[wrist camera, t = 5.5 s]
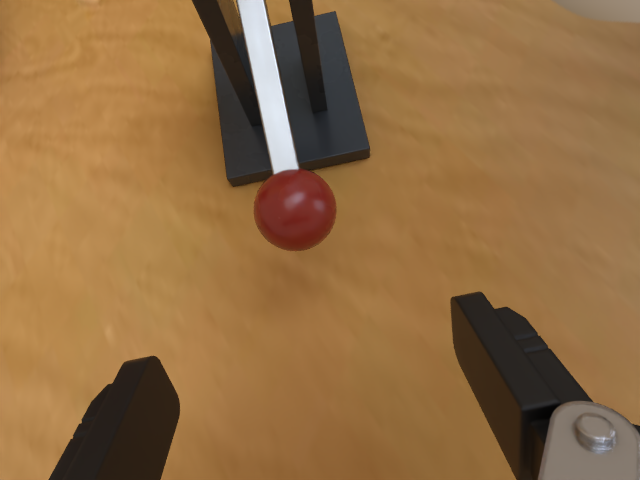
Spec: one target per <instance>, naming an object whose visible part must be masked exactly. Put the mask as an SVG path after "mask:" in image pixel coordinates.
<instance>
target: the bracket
mask: <svg viewBox="0 0 640 480" xmlns="http://www.w3.org/2000/svg"><path fill="white" fill-rule="evenodd" d="M192 2H193V4H194V6H195V8H196V10H197V12H198V14H199V17H200V19H201V21H202V23H203V25H204V27H205V29H206V31H207V33H208V36H209V38H210V43H211V51H212V60H213V68H214V76H215V84H216V92H217V101H218V109H219V117H220V125H221V133H222V141H223V150H224V158H225V166H226V174H227V179H228V181H229V182H230V183H231V185H232V186H233V187H234V186H239V185H244V184H248V183H253V182H258V181H262V180H267V179H268V178H269V177H270V176H271V175H273V173H272V168H271V163H270V158H269V154H268V149H267V144H266V139H265V135H264V130H263V125H262V120H261V116H260V111H259V106H258V102H257V97H256V92H255V87H254V83H253V78H252V73H251V68H250V64H249V59H248V54H247V49H246V45H245V40H244V35H243V31H242V26H241V21H240V18H239V16H238V13H237V10H236V7H235V5H234V2H233V0H192ZM289 2H290V7H291V12H292V17H293V21H291V22H286V23H282V24H278V25H274V26H271V28H272V33H273V38H274V43H275V47H276V52H277V57H278V62H279V67H280V71H281V76H282V81H283V86H284V91H285V95H286V100H287V105H288V110H289V114H290V119H291V124H292V129H293V134H294V138H295V143H296V148H297V153H298V158H299V162H300V167H301V169H305V170H308V171H309V170H313V169H318V168H323V167H327V166H332V165H337V164H341V163H346V162H351V161H355V160H360V159H365V158H369V157H370V146H369V142H368V138H367V134H366V130H365V126H364V122H363V118H362V114H361V110H360V106H359V102H358V98H357V95H356V91H355V87H354V83H353V79H352V75H351V71H350V67H349V63H348V59H347V55H346V51H345V47H344V43H343V39H342V35H341V31H340V27H339V23H338V19H337V15H336V12H335V11H334V12H330V13H325V14H321V15H317V16H314V11H313V4H312V0H289Z"/></svg>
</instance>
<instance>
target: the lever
mask: <svg viewBox="0 0 640 480" xmlns="http://www.w3.org/2000/svg"><path fill="white" fill-rule="evenodd" d="M236 2H237V7H238V12H239V16H240V21H241V26H242V31H243V35H244V40H245V45H246V49H247V54H248V59H249V64H250V68H251V73H252V78H253V83H254V87H255V92H256V97H257V102H258V106H259V111H260V116H261V120H262V125H263V130H264V135H265V139H266V144H267V149H268V154H269V158H270V163H271V168H272V173H273V175H271V176H270V177H269V178H268V179H267V180H266V181H265V182H264V183H263V184H262V185H261V187H260V188H259V190H258V192H257V195H256V197H255V201H254V218H255V222H256V225H257V227H258V229H259V231H260V232H261V234H262V235H263V236H264V238H265V239H266V240H267V241H269V242H270V243H271V244H273V245H274V246H276V247H278V248H281V249H284V250H288V251H302V250H307V249H310V248H312V247H314V246H316V245H318V244H319V243H320V242H322V241H323V240H324V239H325V238H326V237H327V236H328V234H329V233H330V231H331V229H332V228H333V225H334V223H335V219H336V201H335V197H334V195H333V192H332V190H331V189H330V187H329V185H328V184H327V183H326V182H325V181H324V180H323V179H322V178H321V177H320V176H318V175H317V174H315V173H313V172H311V171H308V170H305V169H301V167H300V162H299V158H298V153H297V148H296V143H295V138H294V134H293V129H292V124H291V119H290V114H289V110H288V105H287V100H286V95H285V91H284V86H283V81H282V76H281V71H280V67H279V62H278V57H277V52H276V47H275V43H274V38H273V33H272V28H271V23H270V19H269V14H268V9H267V4H266V0H236Z"/></svg>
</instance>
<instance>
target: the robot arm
mask: <svg viewBox="0 0 640 480" xmlns="http://www.w3.org/2000/svg"><path fill="white" fill-rule="evenodd" d="M451 318H452V332H453V344H454V349H455V353H456V356H457V359H458V362H459V364H460V367H461V369H462V371H463V373H464V375H465V377H466V379H467V381H468V383H469V385H470V387H471V389H472V391H473V393H474V395H475V397H476V399H477V401H478V403H479V405H480V407H481V409H482V411H483V413H484V415H485V417H486V419H487V421H488V423H489V425H490V427H491V429H492V431H493V433H494V435H495V437H496V439H497V441H498V443H499V445H500V447H501V449H502V451H503V453H504V455H505V457H506V459H507V461H508V463H509V465H510V467H511V470H512V472H513V474H514V476H515V478H516V480H640V426H638V425H634V424H631V423H630V422H629V421H628V420H627V419H626V418H625V417H623V416H622V415H621V414H619V413H618V412H616V411H614V410H613V409H610V408H608V407H606V406H604V405H601V404H598V403H594V402H593V401H592V400H591V399H590V398H589V396H588V395H587V394H586V393H585V391H584V390H583V389H582V388H581V386H580V385H579V384H578V383H577V381H576V380H575V379H574V378H573V376H572V375H571V374H570V373H569V372H568V370H567V369H566V368H565V367H564V365H563V364H562V363H561V362H560V360H559V359H558V358H557V357H556V355H555V354H554V353H553V352H552V350H551V349H548V346H547V344H546V343H545V342H544V341H543V339H542V338H541V337H540V336H538V334H537V332H536V331H535V329H534V328H533V327H532V326H531V324H530V323H529V322H528V321H527V319H526V318H525V317H523V316H521V315H520V314H518V313H516V312H515V311H513V310H511V309H510V308H508V307H503V308H498V309H494V308H493V307H492V305H491V304H490V302H489V301H488V300H487V298H486V297H485V295H484V294H483V293H482V292H475V293H470V294H465V295H460V296H455V297H451ZM179 415H180V403H179V398H178V395H177V393H176V391H175V389H174V387H173V385H172V383H171V381H170V379H169V377H168V375H167V373H166V371H165V369H164V368H163V366H162V364H161V362H160V360H159V359H158V358H157V357H156V356H150V357H145V358H140V359H135V360H130V361H126V362H124V363H123V365H122V366H121V368H120V370H119V372H118V374H117V376H116V378H115V380H114V382H113V383H112V384H108V385H107V386H106V387H105V388H104V389H103V390H102V391H101V392H100V393H99V394H98V395H97V397H96V398H95V399H94V400H93V401H92V402H91V404H90V406H89V407H88V409H87V411H86V413H85V415H84V416H83V418H82V423H81V424H79V425H78V427H77V429H76V431H75V433H74V435H73V439H71V440H70V442H69V444H68V445H67V447H66V449H65V451H64V453H63V454H62V456H61V458H60V460H59V462H58V464H57V465H56V467H55V469H54V471H53V473H52V474H51V476H50V478H49V480H160V479H161V476H162V473H163V469H164V466H165V463H166V459H167V456H168V453H169V449H170V446H171V443H172V439H173V436H174V433H175V429H176V426H177V423H178V419H179Z"/></svg>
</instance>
